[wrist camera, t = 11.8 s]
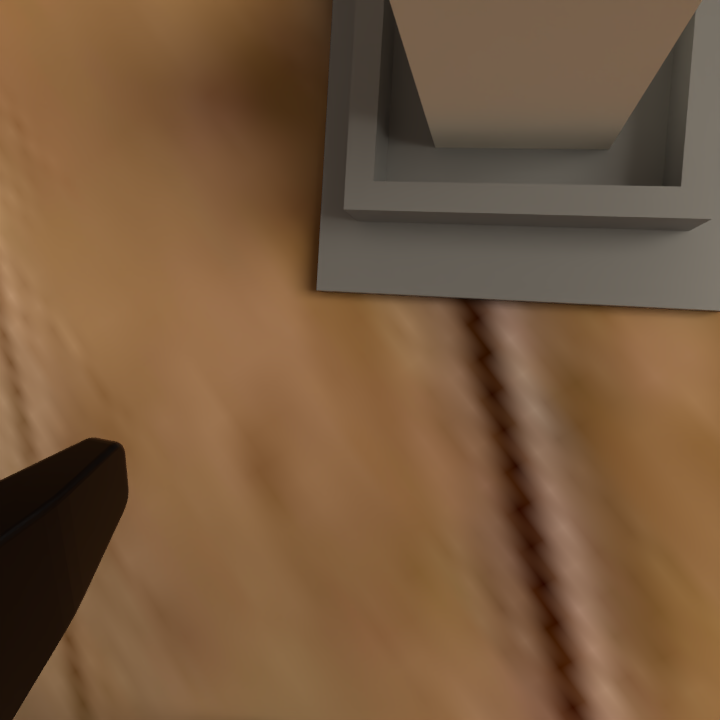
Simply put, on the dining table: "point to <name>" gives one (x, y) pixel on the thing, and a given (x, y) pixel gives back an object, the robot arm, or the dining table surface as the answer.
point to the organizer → (519, 188)
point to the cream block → (535, 67)
